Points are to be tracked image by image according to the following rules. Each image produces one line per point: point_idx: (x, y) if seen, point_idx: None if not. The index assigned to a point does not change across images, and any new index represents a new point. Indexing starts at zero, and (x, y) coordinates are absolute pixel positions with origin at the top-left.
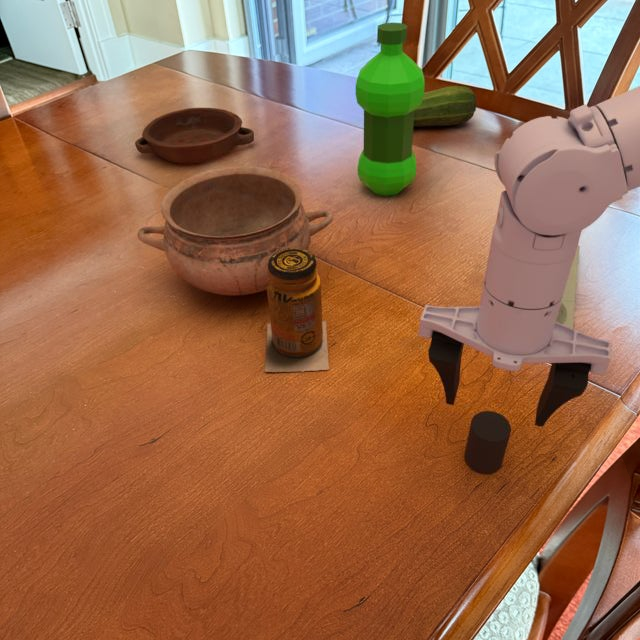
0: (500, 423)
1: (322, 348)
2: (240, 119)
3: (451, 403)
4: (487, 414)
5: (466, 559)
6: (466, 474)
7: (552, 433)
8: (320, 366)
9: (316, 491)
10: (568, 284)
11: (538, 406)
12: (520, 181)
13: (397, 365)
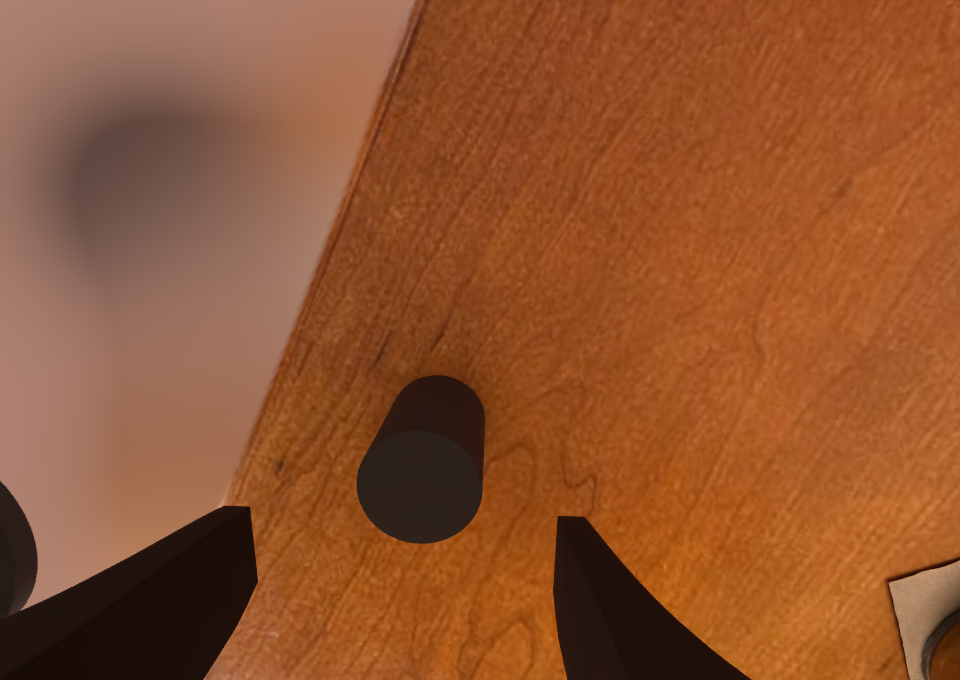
0: (392, 505)
1: (917, 645)
2: None
3: (568, 520)
4: (436, 528)
5: (429, 118)
6: (470, 362)
7: (293, 535)
8: (915, 586)
9: (853, 188)
10: None
11: (232, 588)
12: None
13: None
